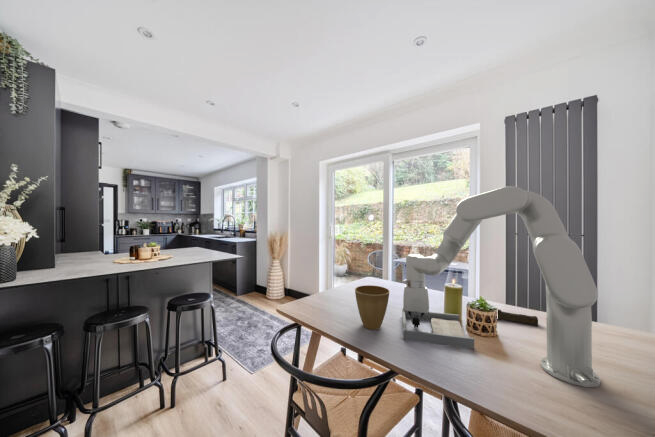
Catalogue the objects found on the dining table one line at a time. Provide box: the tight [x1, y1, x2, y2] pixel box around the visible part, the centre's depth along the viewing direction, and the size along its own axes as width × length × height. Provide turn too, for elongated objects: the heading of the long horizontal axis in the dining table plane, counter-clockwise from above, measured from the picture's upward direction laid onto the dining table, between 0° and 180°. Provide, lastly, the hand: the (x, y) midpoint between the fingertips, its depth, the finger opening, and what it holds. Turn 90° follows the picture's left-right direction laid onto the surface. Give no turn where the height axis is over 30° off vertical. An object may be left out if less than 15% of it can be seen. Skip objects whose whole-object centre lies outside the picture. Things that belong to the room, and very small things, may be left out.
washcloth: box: [430, 318, 467, 337], centre depth 97 cm, size 12×18×3 cm, turn 161°
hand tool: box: [498, 309, 539, 327], centre depth 108 cm, size 19×4×5 cm, turn 58°
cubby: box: [401, 308, 475, 350], centre depth 99 cm, size 22×24×4 cm
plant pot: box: [354, 284, 390, 331], centre depth 104 cm, size 15×15×16 cm
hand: (415, 326), depth 101 cm, fingers closed
